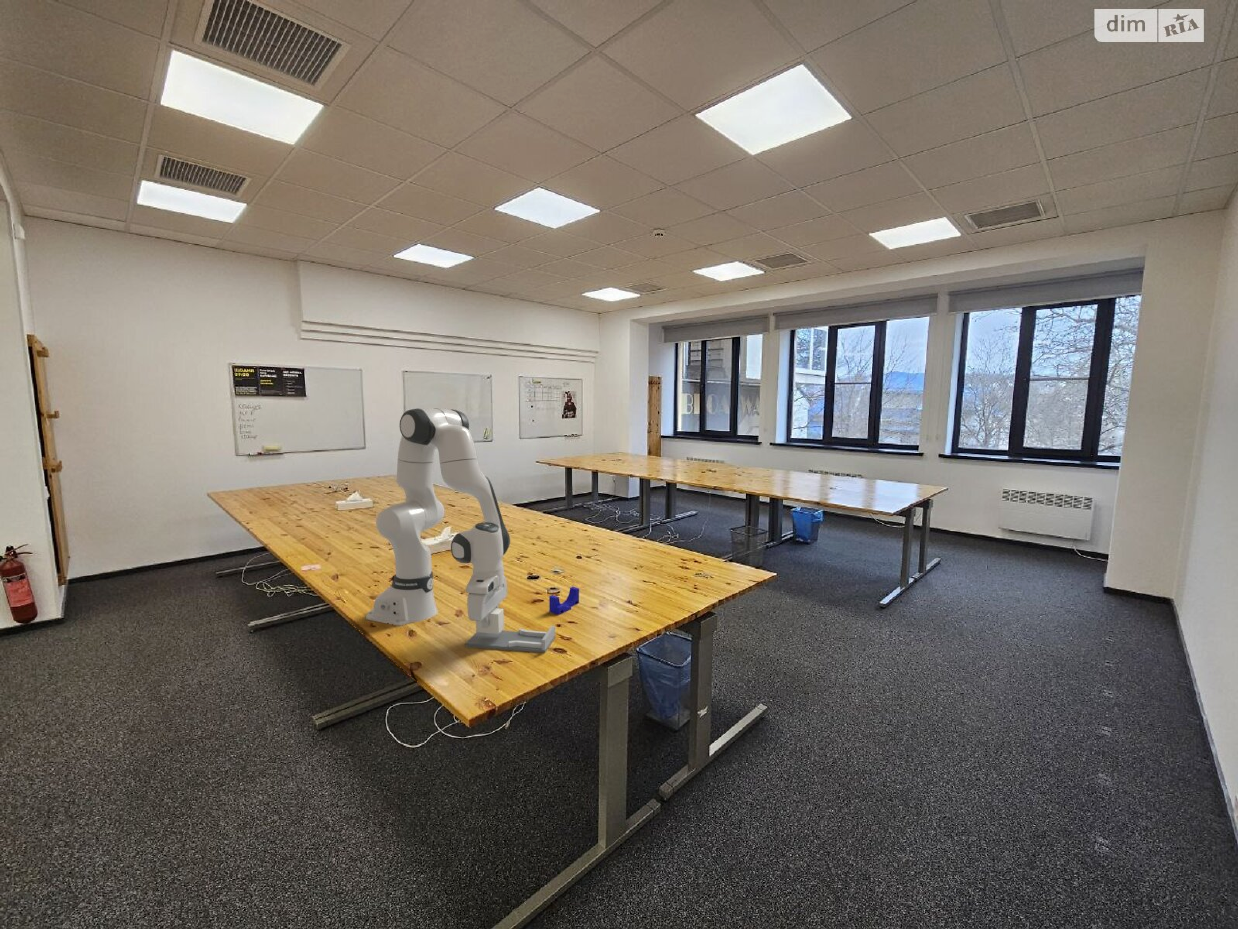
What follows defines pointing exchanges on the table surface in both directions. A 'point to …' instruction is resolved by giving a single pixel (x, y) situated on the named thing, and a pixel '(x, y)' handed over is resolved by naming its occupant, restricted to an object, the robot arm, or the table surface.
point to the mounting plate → (514, 640)
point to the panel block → (492, 622)
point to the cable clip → (567, 604)
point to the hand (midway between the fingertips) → (489, 623)
